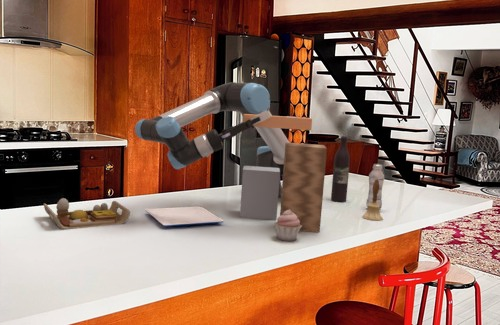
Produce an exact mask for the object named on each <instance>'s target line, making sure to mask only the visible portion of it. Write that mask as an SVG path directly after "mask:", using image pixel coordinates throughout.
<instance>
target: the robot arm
mask: <svg viewBox="0 0 500 325" xmlns="http://www.w3.org/2000/svg"><path fill="white" fill-rule="evenodd" d="M270 97H271V96H270V93H269V90H268V89H267V88H266V86H264V85H262V84H259V83H256V82H233V81H231V82H227V83H224V84H221V85H218V86H216V87H214V88H211V89H209V90H207V91H205V92H204V93H203V95H202V96H200V97H198V98H194V99H192V100H191V101H188V102H186V103H184V104H182V105H179V106H177V107H175V108H173V109H171V110H168V111H166V112H164V113H162V114H159V115H156V116H154V117H153V118H150V119H148V118H142V119H140V120H138V121H137V122H136V124H135V126H134V132H135V135H136V137H137V138H139V139H141V140H144V141H148V142H154V143H159V144H165V146H167V148H168V152H167V158H168V161H169V163H170V165H171V166H172V167H173V169H175V170H181V169H182V168H185V167H188V166H189V165H191V164H194V163H195V162H197V161H199V160H201V159H203V158H205V157H206V158H209V157H210V155H211V154H213V153H214V152H217V151H220V150H222V149H223V148H224V146H225V145H224V142H223V141H226V142H227V141H230V140H231V139H232V138H234V137H236V136H237V135H238V134H241V133H242V132H244V131H246V130H248V129H254V128H255V130H257V133H258V134H259V135H260V137H261V138H262V140H263V141H264V142H265V144H266V145H264V146H259V147H258V148H257V151H256V157H255V158H256V159H255V162H256V163H255V166H257V167H272V168H279V169H280V176H282V177H283V169H284V156H285V143H290V141H289V139H288V138H287V137H286V134H285V133H284V131H283V130H282V128H269V127H254V125H256V124H258V123H260V122H262V121H264V120H266V119H268V118H270V116H273V115H272V113H271V112H270V108H271V107H270V104H271V98H270ZM224 111H225V112H238V113H240V114H241V115H242V117H243V118H244V114H253V115H257V116H255V117H253V118H251V119H250V120H248V121H246V122H244V123H243V121H241V122H240V123H238V124H237V125H234V126H233V125H231V126H230V127H228V128H225V129H224V128H223V130H221V133H218V131H217V130H216V129H215V128H214V129H213V128H212V129H211V130H210V131H207V132H205V133H203V134H201V135H199V136H196V137H195V138H193V139H191V140H189V138H188V137H187V135H186V133H185V131H184V130H183V127H185V126H187V125H189V124H191V123H193V122H195V121H197V120H199V119H202V118H204V117H205V116H208V115H210V114H214V115H215V114H218V113H220V112H224ZM281 196H282V182H281V178H280V179H279V193H278V198H281Z"/></svg>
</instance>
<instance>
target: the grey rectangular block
mask: <svg viewBox="0 0 500 325" xmlns="http://www.w3.org/2000/svg"><path fill="white" fill-rule="evenodd" d="M279 179H280V180H281V175H280V169H279V168H272V167H257V166H256V165H243V168H242V177H241V180H242V181H241V190H240V191H241V195H240V196H241V197H240V209H239V210H240V211H239V218H245V219H246V218H247V219H260V220H272V221H273V220H274V221H275V220H276V221H277V219H278V217H277V216H278V205H279V197H278V193H279Z"/></svg>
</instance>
